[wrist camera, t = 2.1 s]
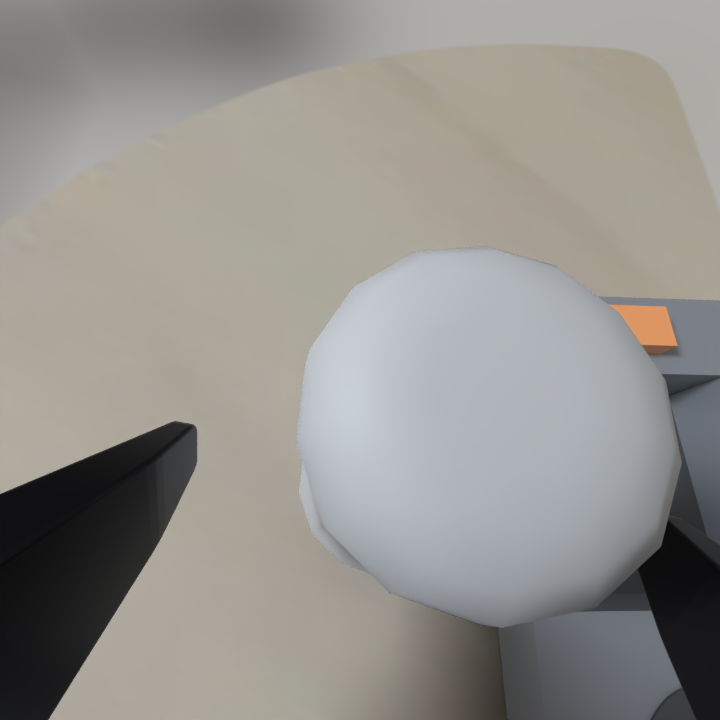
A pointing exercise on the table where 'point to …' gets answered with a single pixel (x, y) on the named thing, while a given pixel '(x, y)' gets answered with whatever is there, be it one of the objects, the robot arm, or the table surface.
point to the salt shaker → (485, 438)
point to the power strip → (629, 601)
